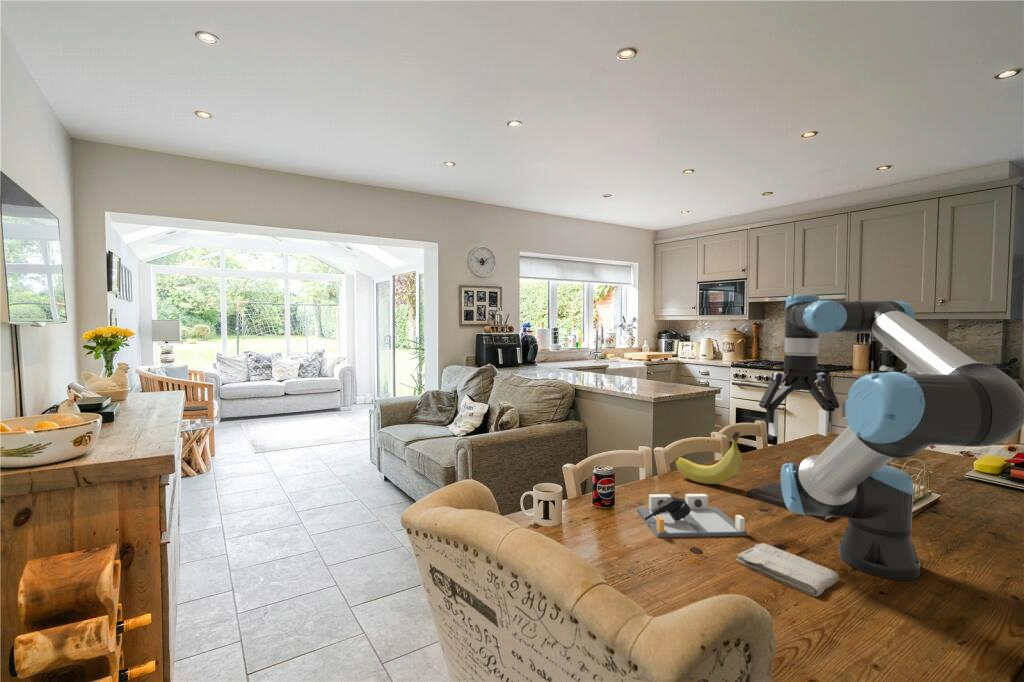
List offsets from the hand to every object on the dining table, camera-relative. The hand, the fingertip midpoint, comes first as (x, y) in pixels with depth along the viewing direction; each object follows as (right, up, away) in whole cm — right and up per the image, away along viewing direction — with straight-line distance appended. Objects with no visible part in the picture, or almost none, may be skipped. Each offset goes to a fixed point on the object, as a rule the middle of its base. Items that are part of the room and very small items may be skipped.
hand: (798, 435), depth 125 cm
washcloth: (-13, -28, -17) cm, 35 cm away
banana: (-7, -25, +41) cm, 48 cm away
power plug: (-32, -25, +6) cm, 41 cm away
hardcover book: (+14, -27, +24) cm, 39 cm away
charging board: (-26, -26, +8) cm, 38 cm away
